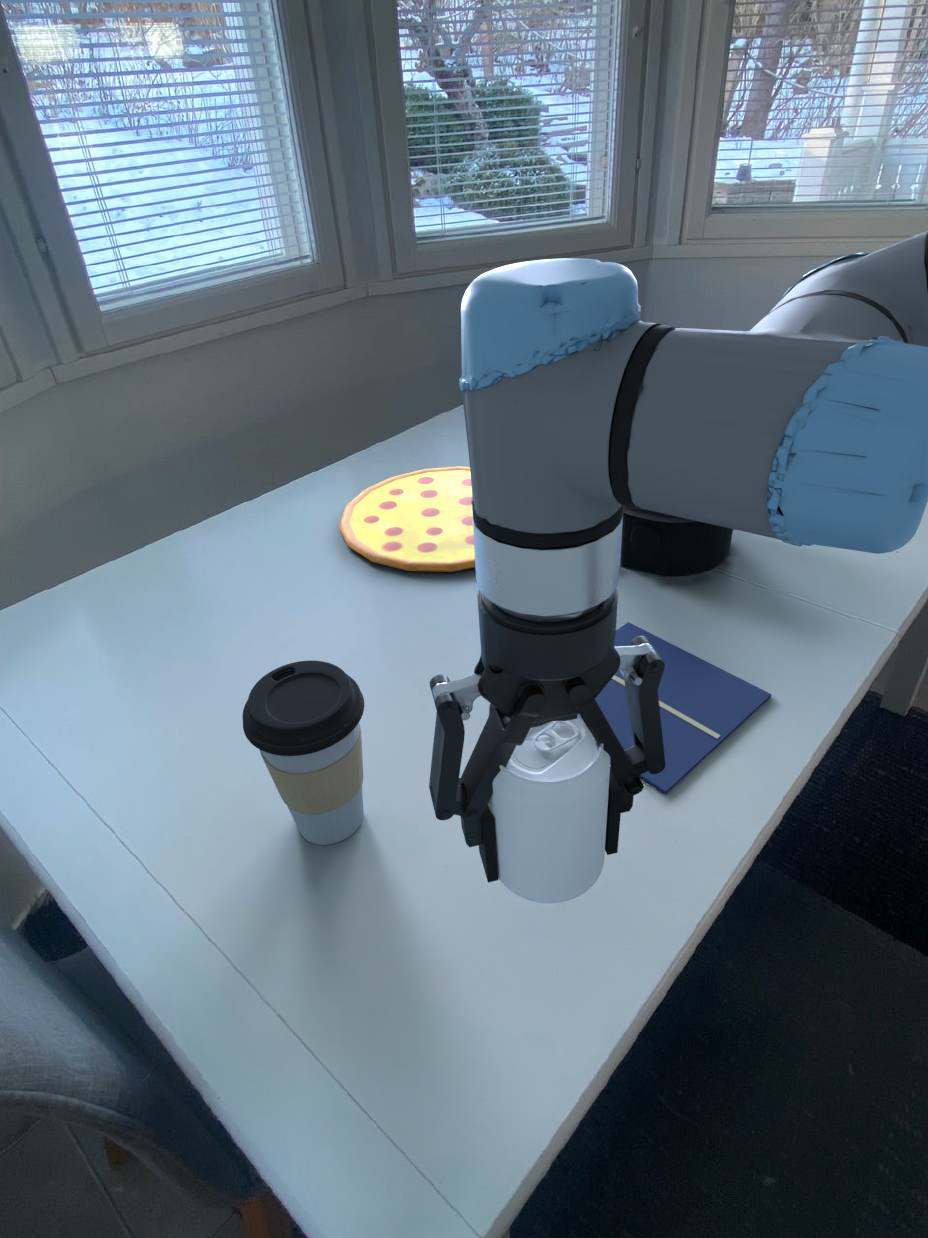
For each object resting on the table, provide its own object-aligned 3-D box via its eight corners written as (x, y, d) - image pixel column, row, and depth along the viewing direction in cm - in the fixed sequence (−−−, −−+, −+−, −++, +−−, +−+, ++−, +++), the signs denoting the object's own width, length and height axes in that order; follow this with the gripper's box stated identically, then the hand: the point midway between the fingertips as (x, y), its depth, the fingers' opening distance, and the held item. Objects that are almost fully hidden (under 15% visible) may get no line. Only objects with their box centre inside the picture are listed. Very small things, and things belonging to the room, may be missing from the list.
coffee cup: (318, 766, 70) (287, 643, 61) (403, 797, 66) (383, 670, 57) (254, 841, 63) (210, 715, 54) (345, 880, 60) (313, 752, 51)
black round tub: (573, 560, 97) (577, 455, 89) (622, 502, 110) (629, 405, 101) (712, 593, 89) (732, 481, 81) (747, 527, 102) (768, 424, 93)
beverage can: (468, 852, 53) (455, 735, 47) (550, 796, 57) (549, 680, 50) (542, 932, 48) (540, 812, 41) (627, 864, 52) (639, 744, 45)
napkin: (771, 697, 74) (772, 693, 74) (665, 794, 65) (666, 791, 65) (628, 624, 85) (628, 621, 85) (520, 698, 76) (520, 695, 76)
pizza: (590, 495, 112) (590, 488, 112) (478, 598, 91) (477, 591, 90) (423, 457, 127) (422, 451, 127) (294, 538, 106) (292, 531, 106)
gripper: (696, 521, 43) (662, 783, 56) (346, 581, 40) (396, 841, 54) (764, 587, 37) (708, 863, 50) (359, 662, 34) (412, 933, 48)
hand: (547, 851), depth 52 cm, fingers closed on beverage can, 8 cm apart
